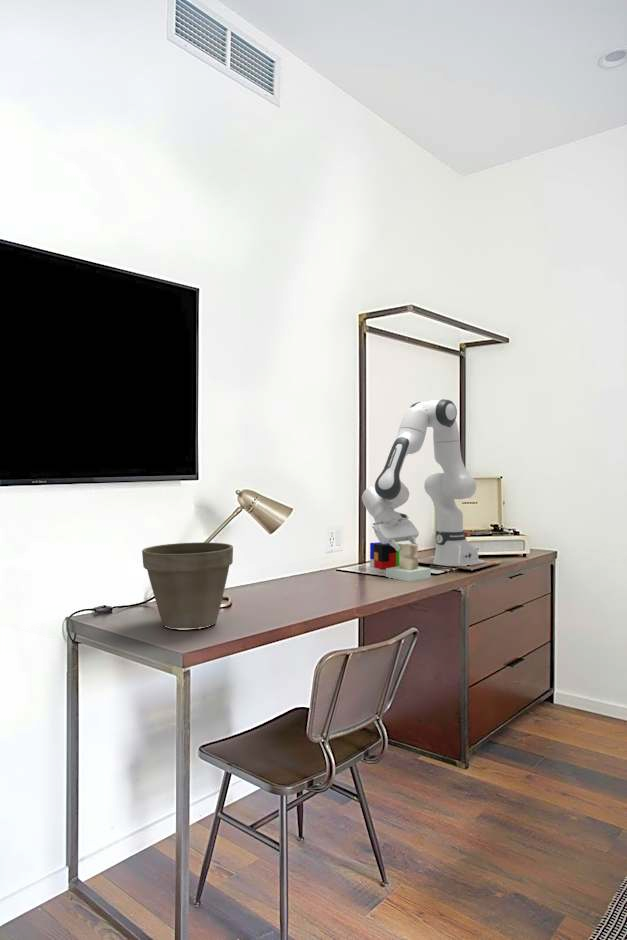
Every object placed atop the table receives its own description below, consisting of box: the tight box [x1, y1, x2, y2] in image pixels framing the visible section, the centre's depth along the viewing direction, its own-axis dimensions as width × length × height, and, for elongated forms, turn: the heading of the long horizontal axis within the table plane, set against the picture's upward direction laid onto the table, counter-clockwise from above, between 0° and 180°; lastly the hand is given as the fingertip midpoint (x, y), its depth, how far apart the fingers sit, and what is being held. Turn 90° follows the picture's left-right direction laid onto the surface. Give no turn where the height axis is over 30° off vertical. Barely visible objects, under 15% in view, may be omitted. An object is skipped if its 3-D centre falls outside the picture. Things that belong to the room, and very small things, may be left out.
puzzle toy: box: [369, 541, 404, 570], centre depth 287 cm, size 10×10×10 cm
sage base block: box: [385, 566, 432, 583], centre depth 262 cm, size 12×12×4 cm
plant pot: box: [141, 542, 234, 628], centre depth 190 cm, size 25×25×22 cm
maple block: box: [399, 543, 419, 570], centre depth 262 cm, size 5×5×9 cm
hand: (407, 548), depth 262 cm, fingers open, 8 cm apart
